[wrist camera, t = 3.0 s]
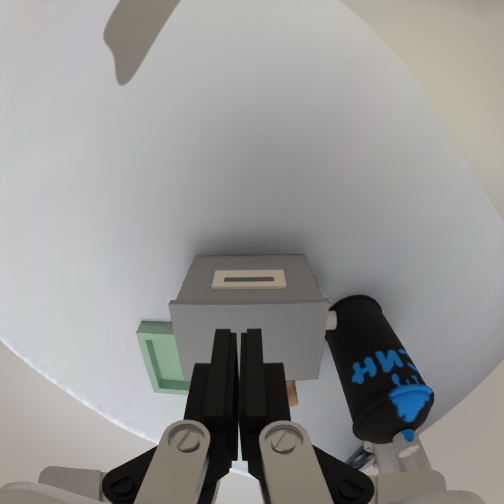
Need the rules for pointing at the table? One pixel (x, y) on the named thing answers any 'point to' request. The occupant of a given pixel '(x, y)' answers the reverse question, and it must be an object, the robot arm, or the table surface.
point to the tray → (162, 358)
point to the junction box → (253, 310)
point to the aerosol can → (377, 376)
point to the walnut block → (292, 393)
